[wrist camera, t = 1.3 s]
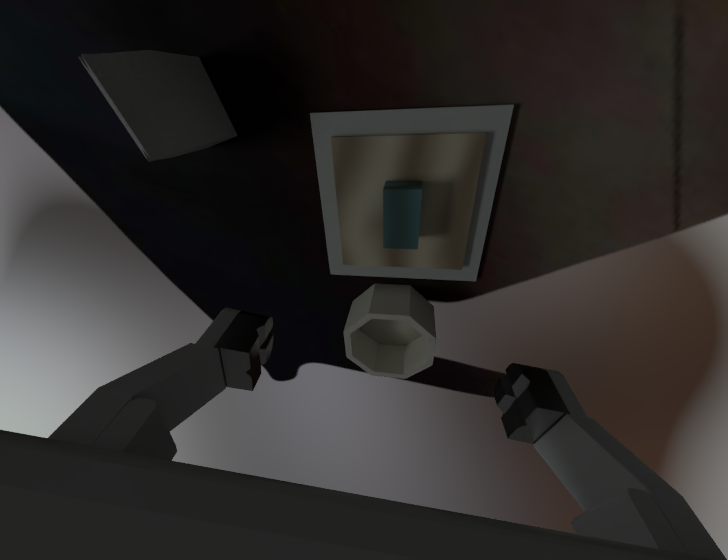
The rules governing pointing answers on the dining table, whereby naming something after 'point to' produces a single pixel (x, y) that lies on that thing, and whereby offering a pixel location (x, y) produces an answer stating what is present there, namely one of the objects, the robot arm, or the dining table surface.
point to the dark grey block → (161, 100)
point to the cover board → (437, 197)
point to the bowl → (391, 331)
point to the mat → (413, 122)
